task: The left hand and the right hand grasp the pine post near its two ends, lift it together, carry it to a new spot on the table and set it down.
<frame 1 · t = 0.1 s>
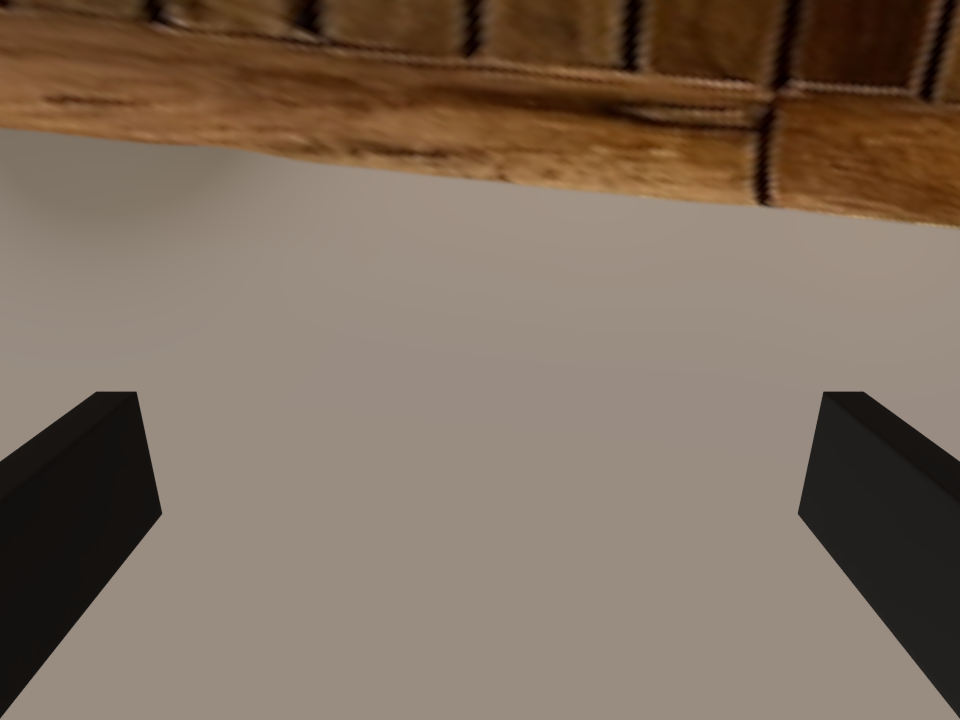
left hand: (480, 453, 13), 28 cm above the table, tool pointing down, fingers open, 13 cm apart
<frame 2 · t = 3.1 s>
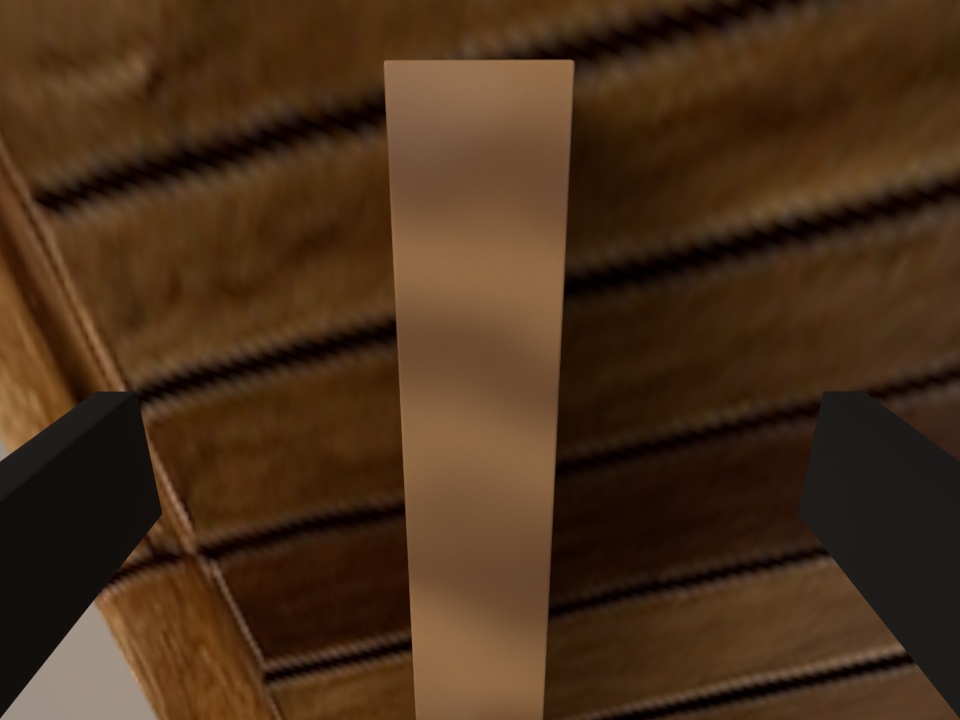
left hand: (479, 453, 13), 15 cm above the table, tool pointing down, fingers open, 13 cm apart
post: (479, 652, 34), on the table, touching right hand
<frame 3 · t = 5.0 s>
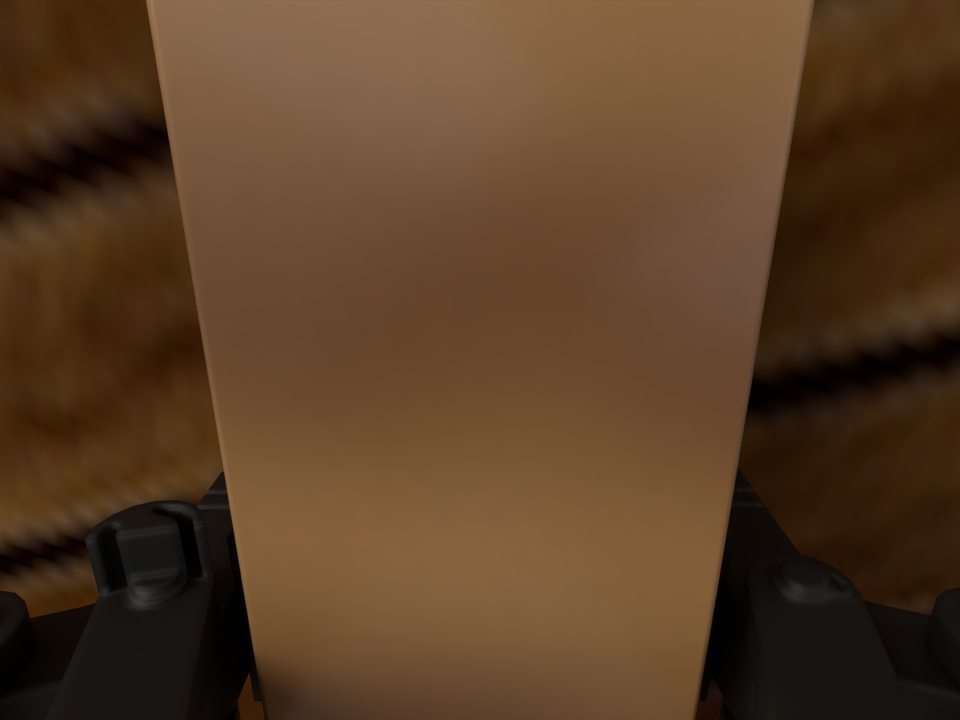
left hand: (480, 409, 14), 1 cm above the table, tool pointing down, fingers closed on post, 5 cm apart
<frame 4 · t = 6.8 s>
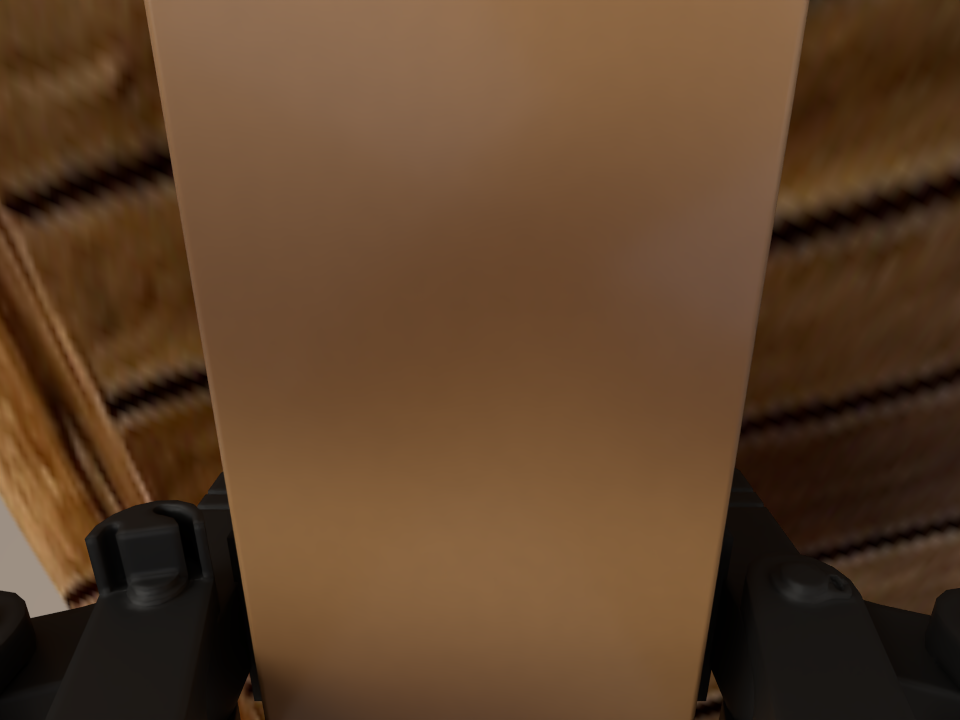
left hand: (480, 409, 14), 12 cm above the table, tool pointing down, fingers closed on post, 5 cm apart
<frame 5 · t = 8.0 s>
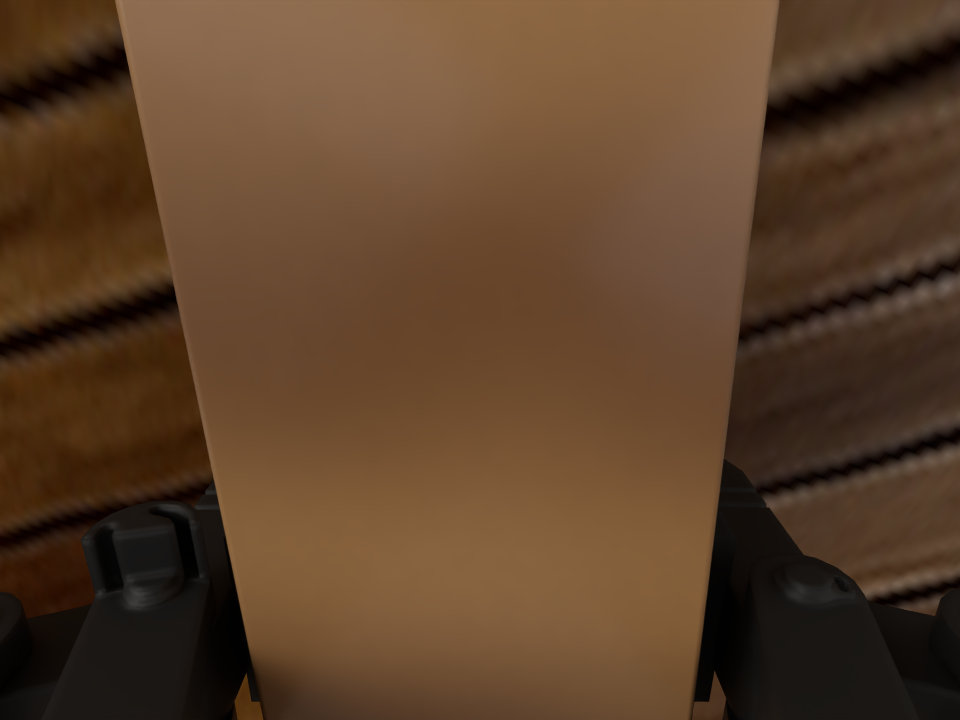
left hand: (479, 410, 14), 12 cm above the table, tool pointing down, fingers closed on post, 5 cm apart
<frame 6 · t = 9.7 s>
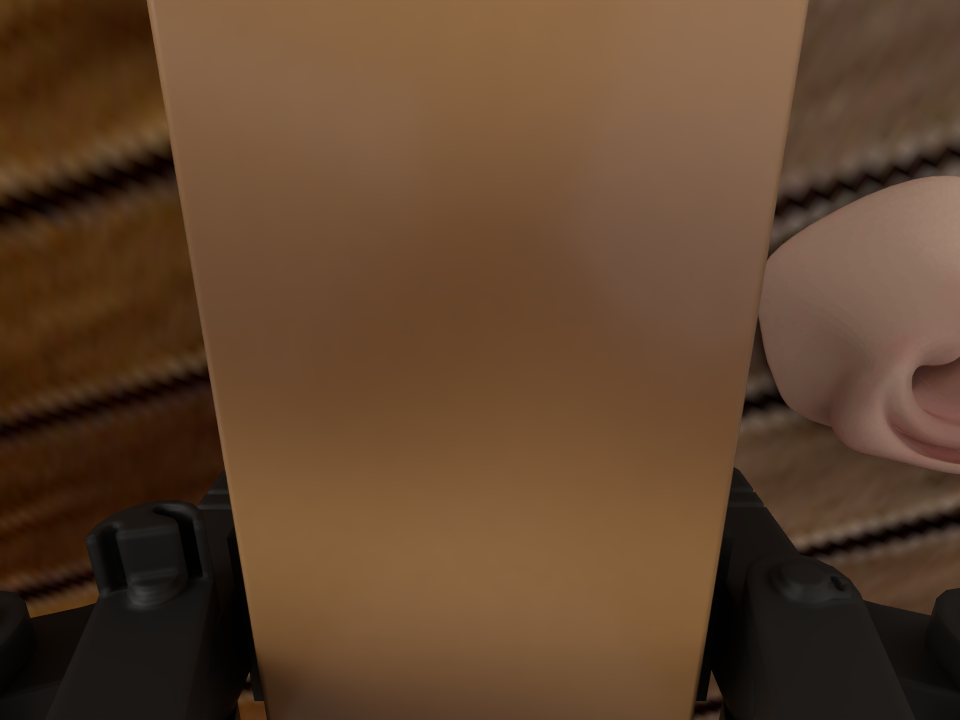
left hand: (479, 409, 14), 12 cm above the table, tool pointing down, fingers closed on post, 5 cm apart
anatomical model: (915, 324, 26), on the table
when the left hand's fingers open (2 cm above the table, at t = 11.0 s): post drops 2 cm, on the table.
when the right hand's fingers open (2 cm above the table, at t = 11.0 s): post drops 2 cm, on the table.
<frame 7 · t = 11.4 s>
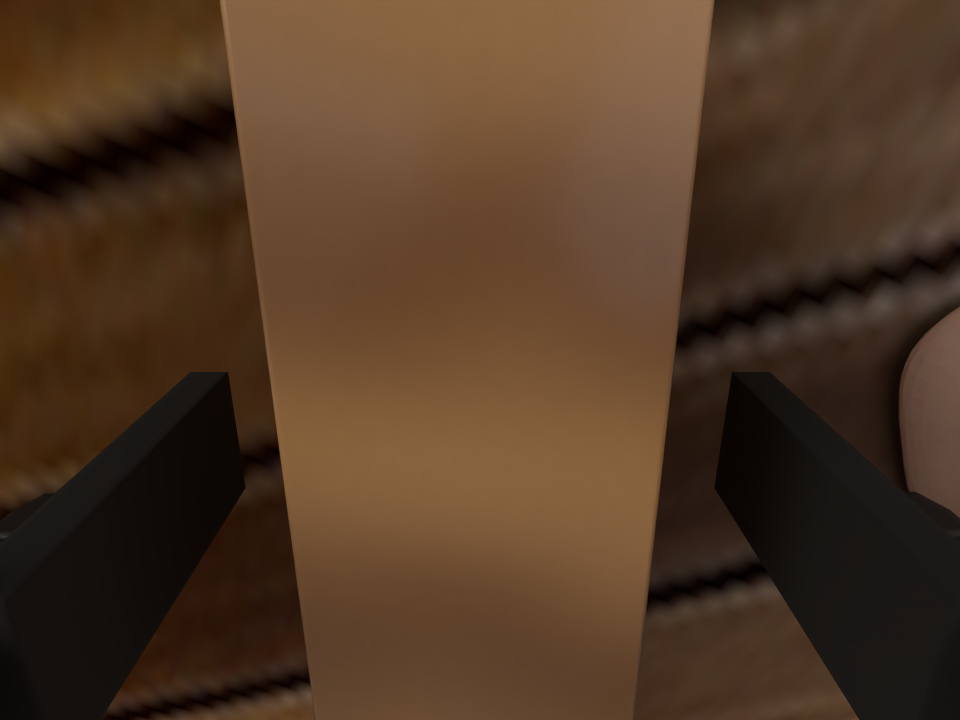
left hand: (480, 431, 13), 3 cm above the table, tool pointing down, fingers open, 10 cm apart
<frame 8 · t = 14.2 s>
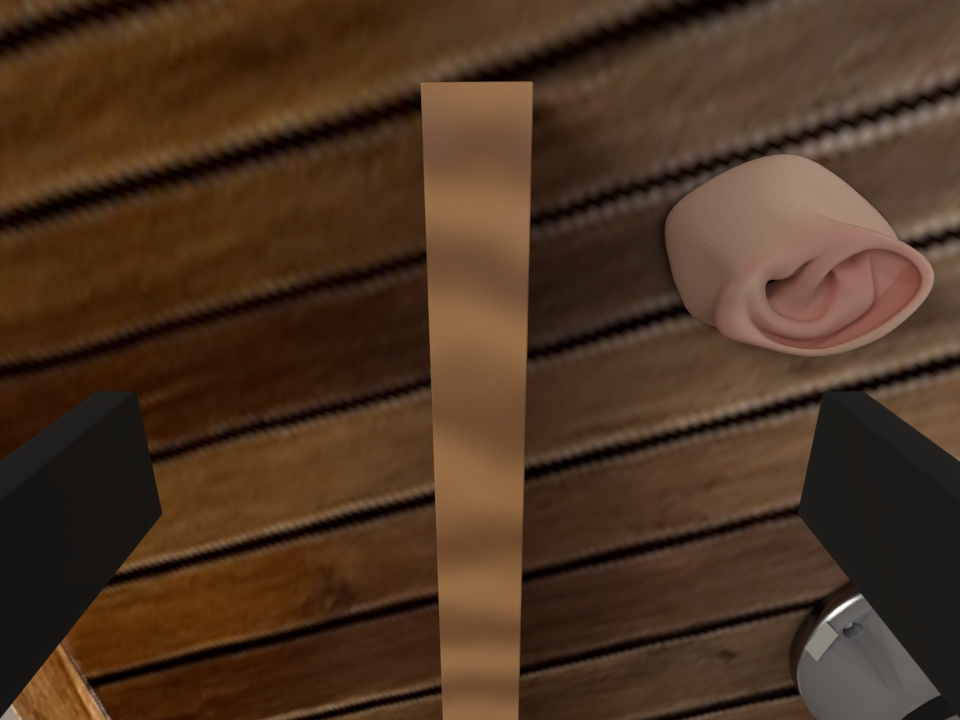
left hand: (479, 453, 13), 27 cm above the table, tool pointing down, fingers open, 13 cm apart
anatomical model: (773, 256, 38), on the table
post: (480, 519, 45), on the table
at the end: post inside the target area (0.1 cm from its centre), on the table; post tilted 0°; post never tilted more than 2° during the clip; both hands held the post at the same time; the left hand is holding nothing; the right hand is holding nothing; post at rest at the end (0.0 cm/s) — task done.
